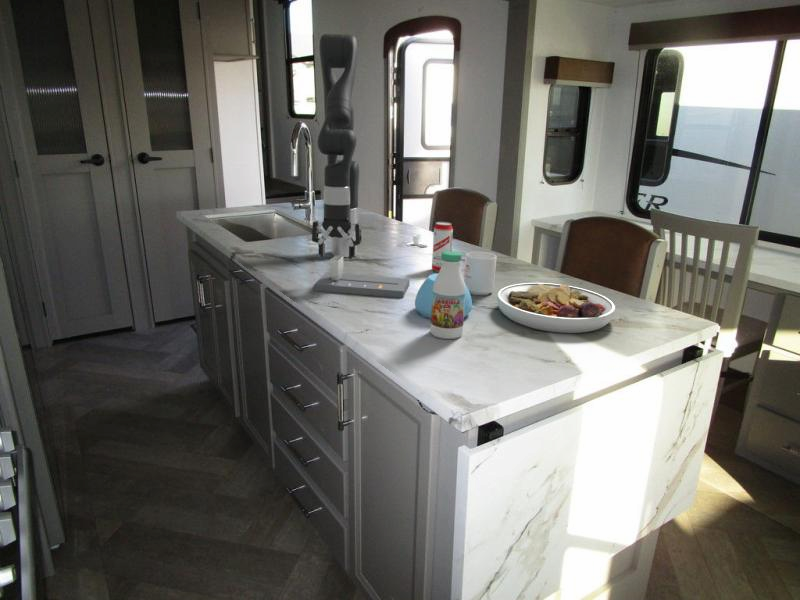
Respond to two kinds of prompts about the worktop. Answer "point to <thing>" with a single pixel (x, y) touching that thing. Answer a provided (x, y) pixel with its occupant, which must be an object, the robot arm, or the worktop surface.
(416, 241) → the teacup and saucer
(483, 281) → the mug
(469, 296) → the sugar bowl
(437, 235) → the beer can
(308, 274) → the worktop surface
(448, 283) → the milk bottle
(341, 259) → the fader tab
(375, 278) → the slider console
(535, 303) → the bowl
